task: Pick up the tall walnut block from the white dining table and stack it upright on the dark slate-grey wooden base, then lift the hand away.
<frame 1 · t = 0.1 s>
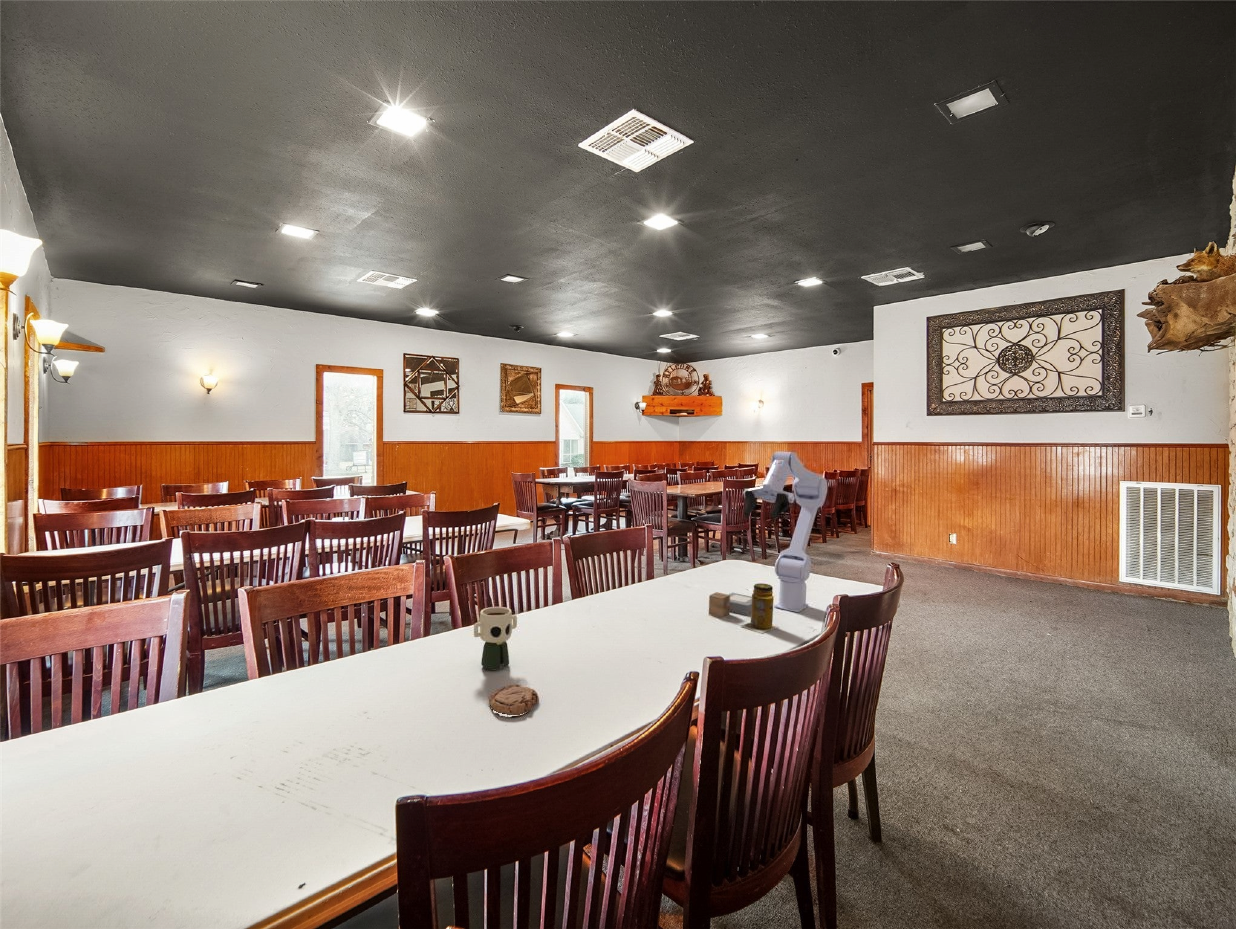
hand: (758, 516, 163), 32 cm above the table, tool tilted 50°, fingers open, 7 cm apart
character mug: (495, 667, 135), on the table
condiment: (759, 627, 168), on the table
slate base: (739, 608, 185), on the table
walnut block: (719, 614, 178), on the table
cookie: (514, 707, 117), on the table
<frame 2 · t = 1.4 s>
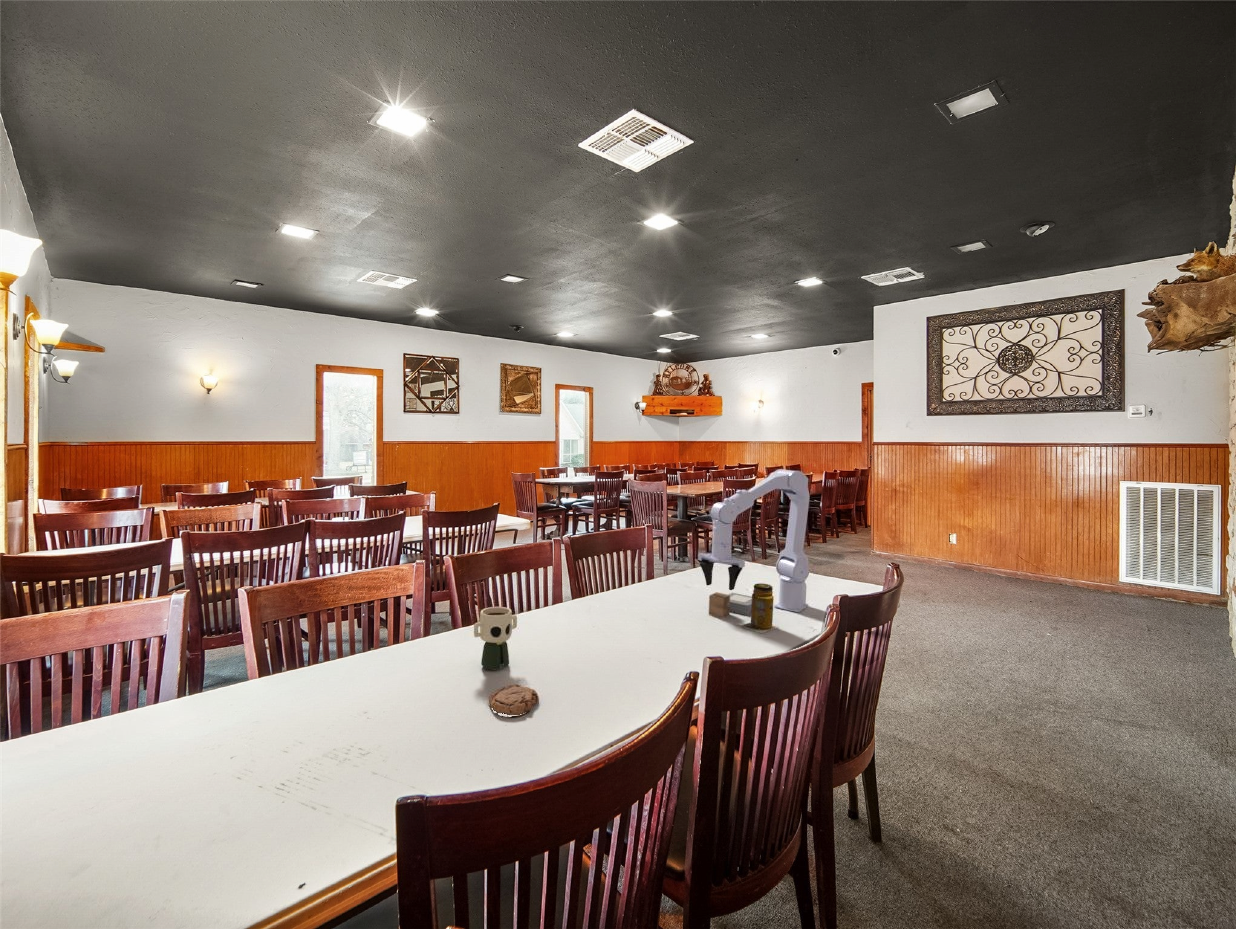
hand: (720, 587, 178), 8 cm above the table, tool pointing down, fingers open, 7 cm apart
nothing on the table moved.
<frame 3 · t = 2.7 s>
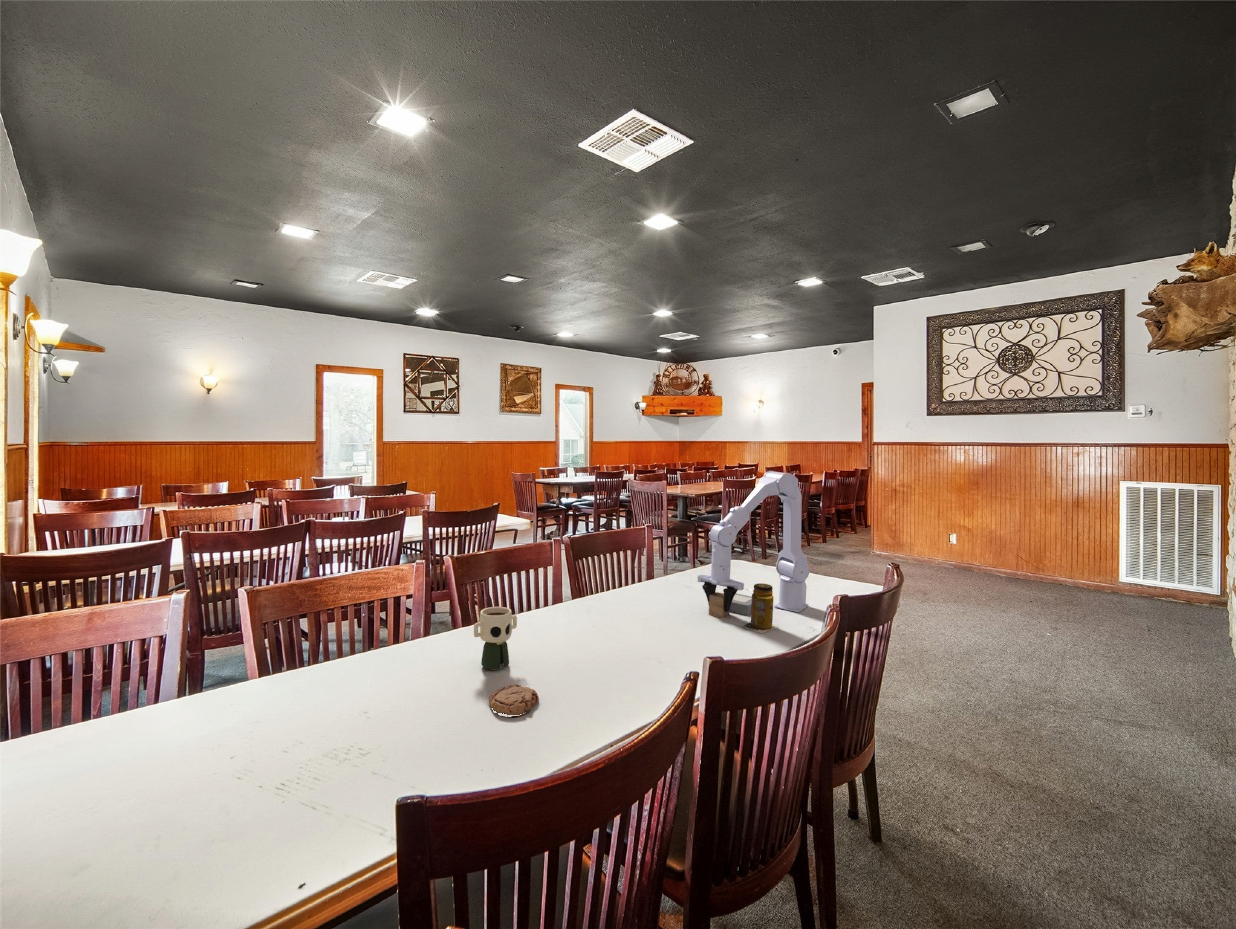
hand: (719, 609, 178), 2 cm above the table, tool pointing down, fingers closed on walnut block, 5 cm apart
walnut block: (719, 614, 178), on the table, touching gripper
everything else where it was.
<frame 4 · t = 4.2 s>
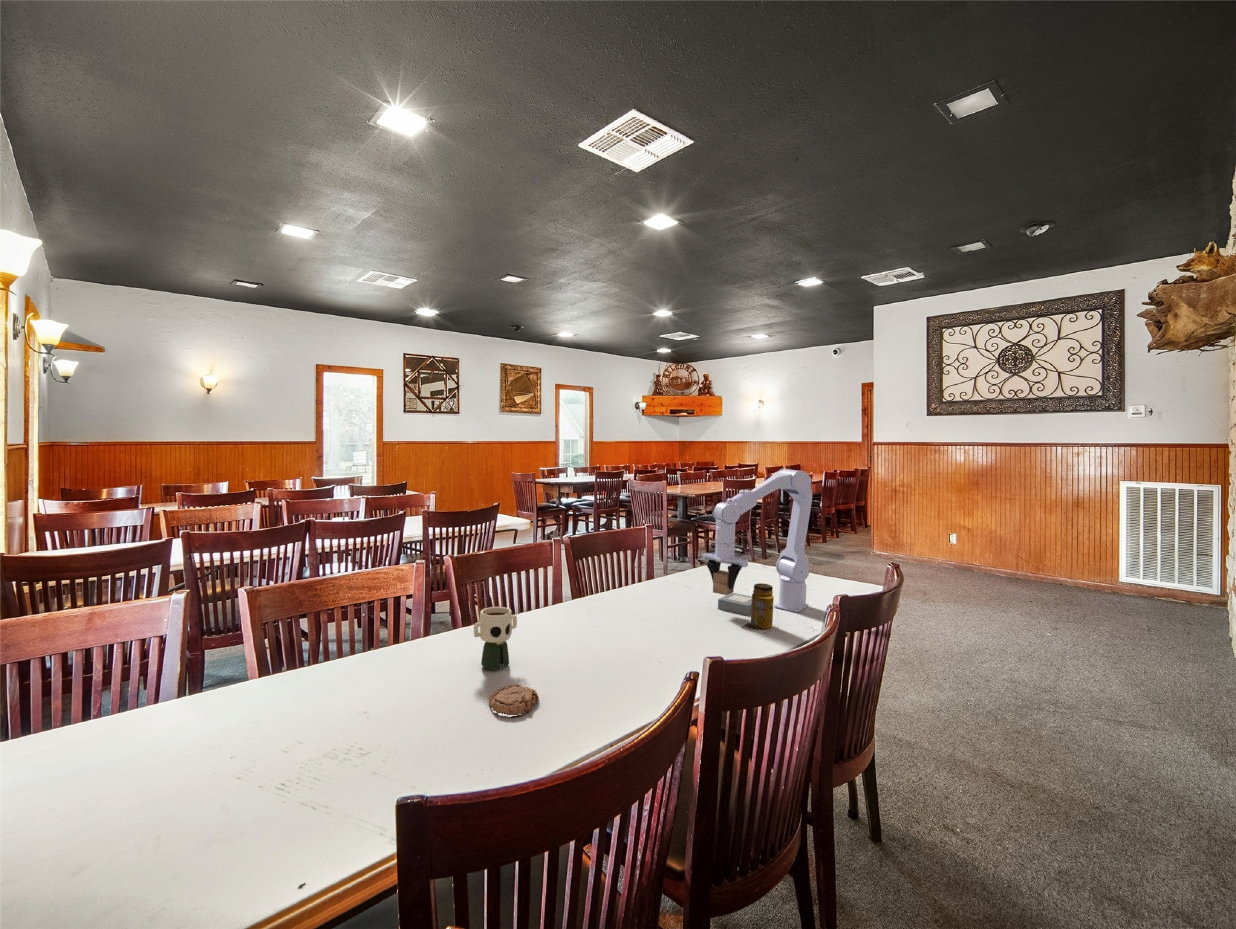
hand: (723, 586, 179), 8 cm above the table, tool pointing down, fingers closed on walnut block, 5 cm apart
walnut block: (723, 592, 179), point 7 cm above the table, touching gripper
everything else where it was.
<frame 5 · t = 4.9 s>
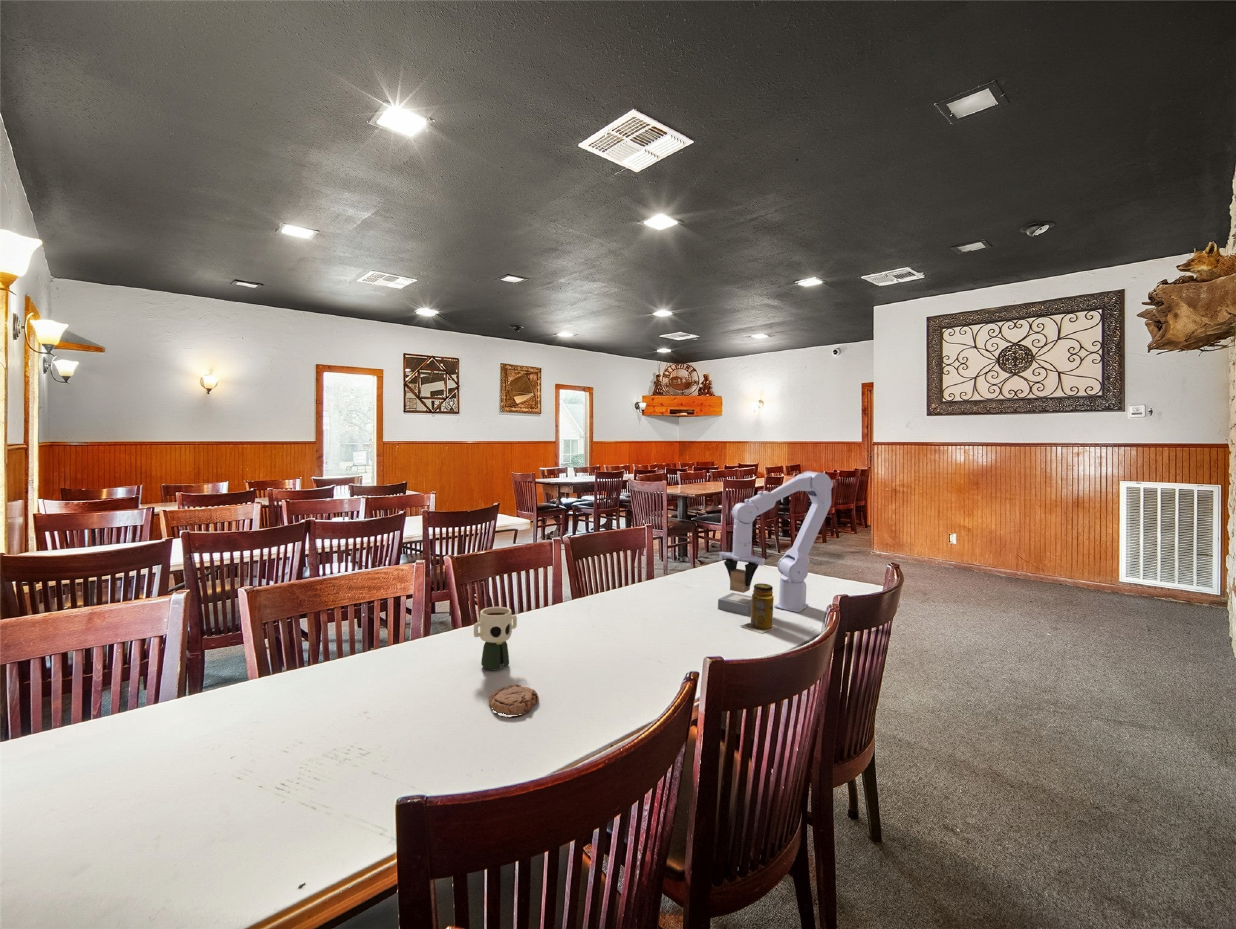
hand: (740, 584, 185), 8 cm above the table, tool pointing down, fingers closed on walnut block, 5 cm apart
walnut block: (739, 589, 185), point 6 cm above the table, touching gripper
everything else where it was.
when the fingers open (6 cm above the table, at t = 5.6 s): walnut block drops 1 cm, resting on slate base.
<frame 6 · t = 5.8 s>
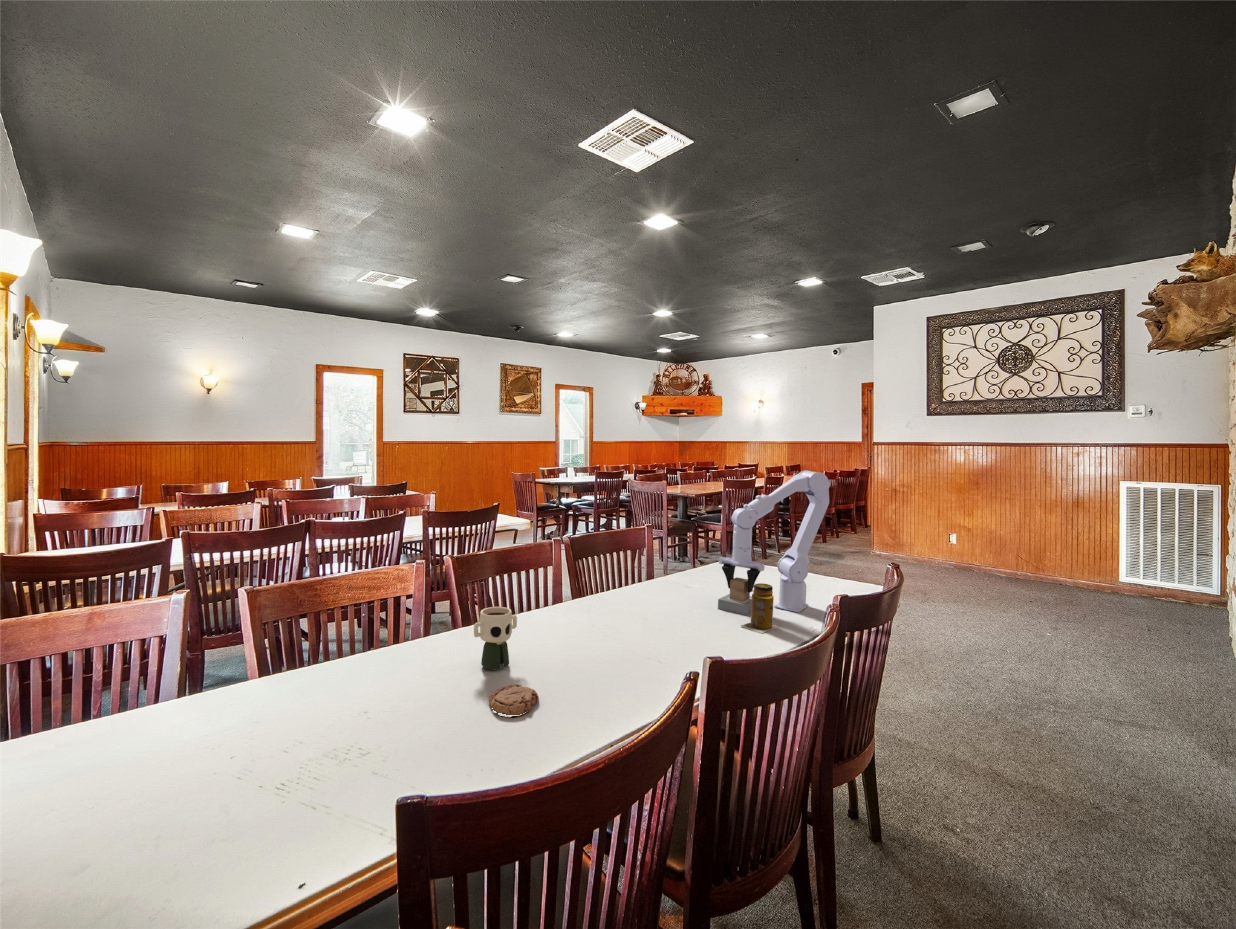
hand: (740, 589, 185), 6 cm above the table, tool pointing down, fingers open, 6 cm apart
walnut block: (739, 598, 185), point 3 cm above the table, touching slate base
everything else where it was.
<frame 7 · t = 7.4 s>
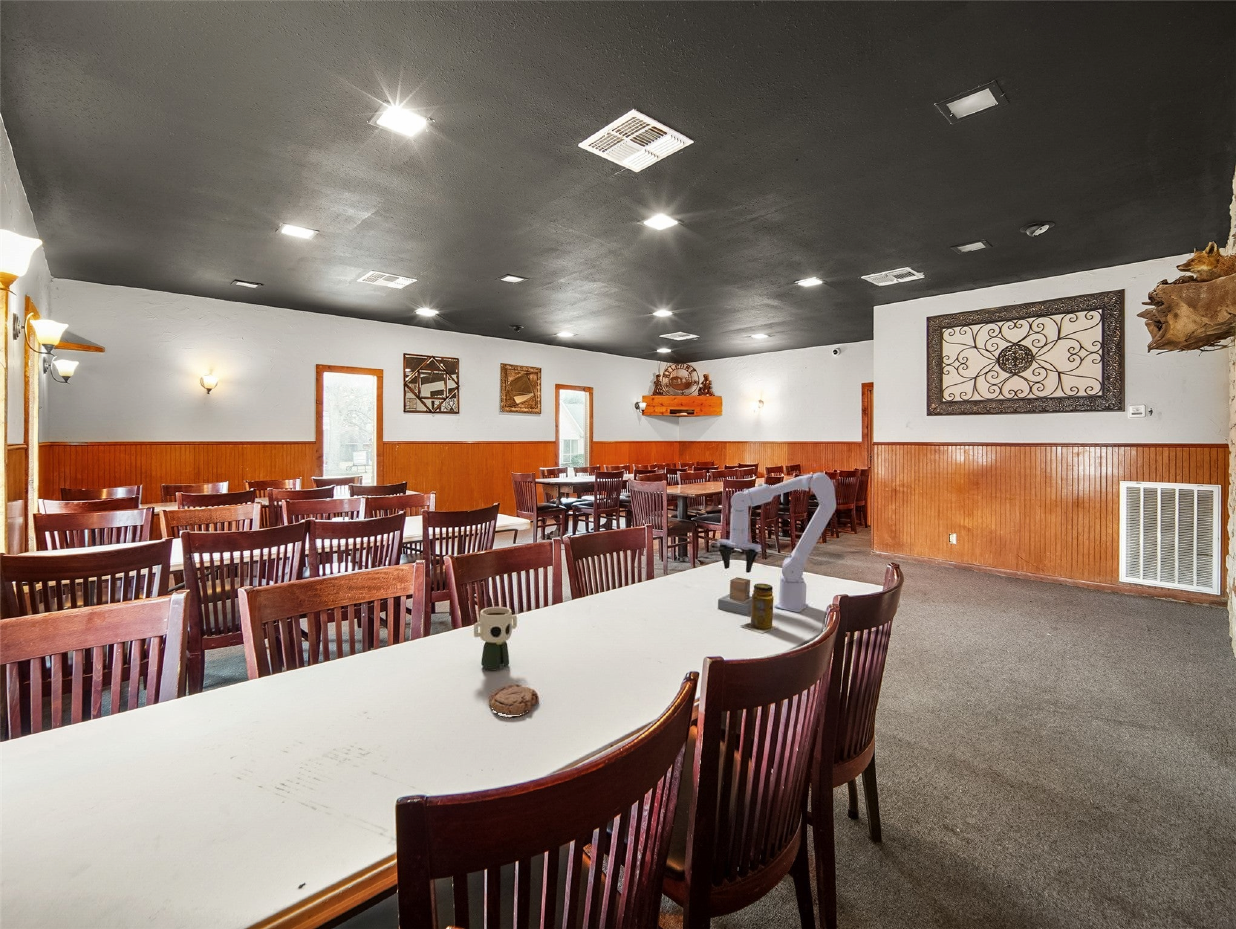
hand: (737, 570, 192), 10 cm above the table, tool pointing down, fingers open, 7 cm apart
nothing on the table moved.
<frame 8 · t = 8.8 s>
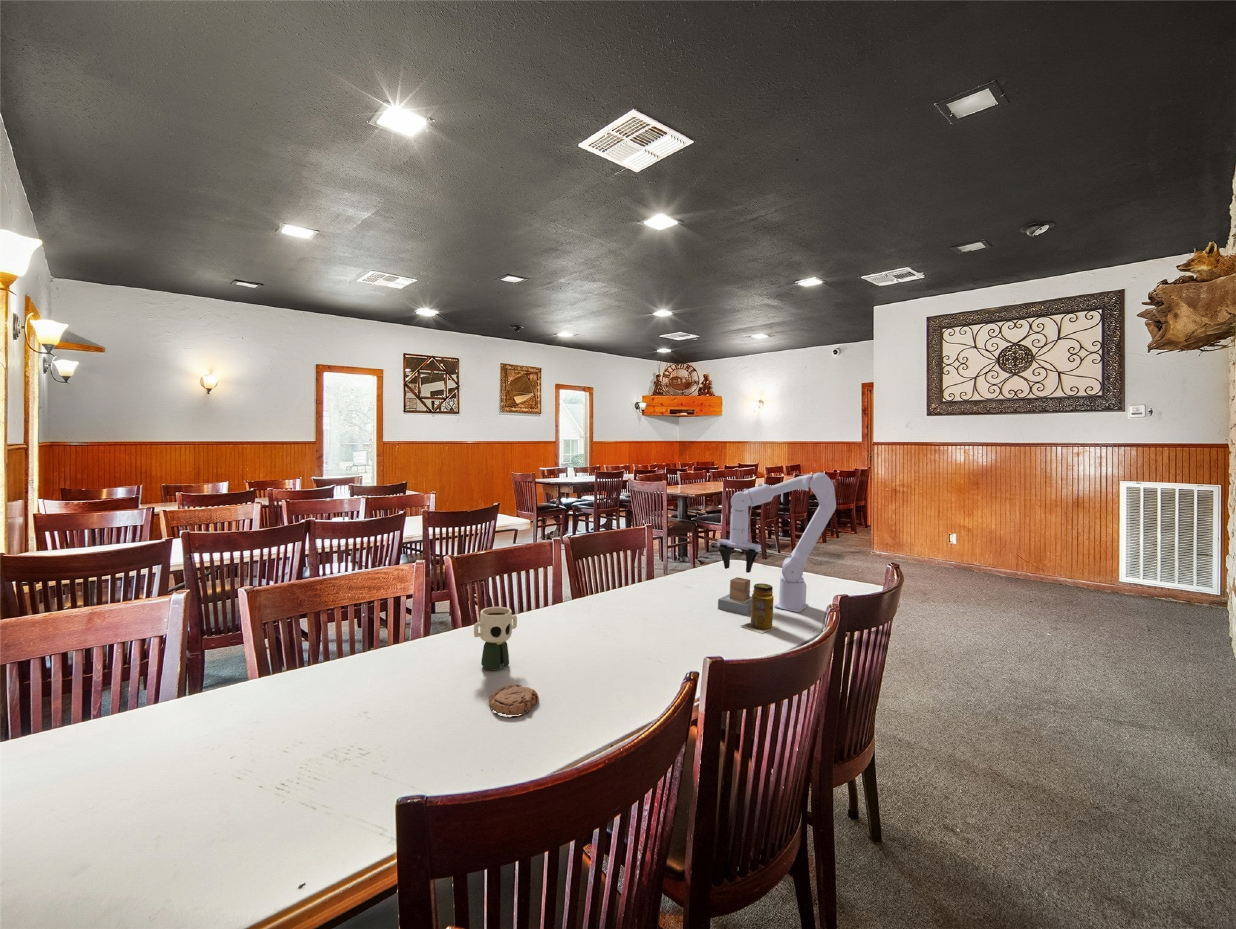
hand: (737, 570, 192), 10 cm above the table, tool pointing down, fingers open, 7 cm apart
nothing on the table moved.
at the end: walnut block 0.2 cm off-centre on the slate base, point 3.1 cm above the slate base's base; walnut block tilted 0°; the gripper is holding nothing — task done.
